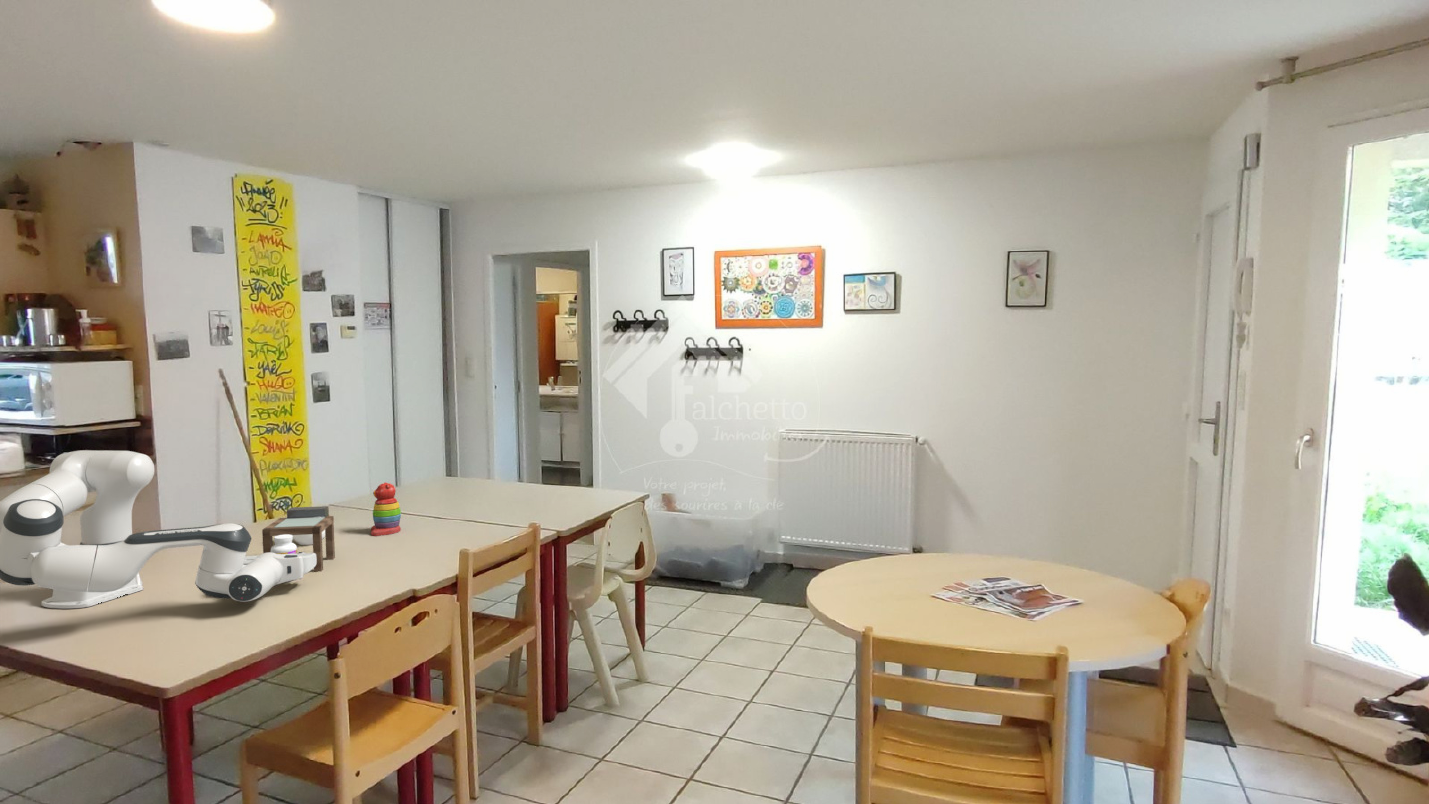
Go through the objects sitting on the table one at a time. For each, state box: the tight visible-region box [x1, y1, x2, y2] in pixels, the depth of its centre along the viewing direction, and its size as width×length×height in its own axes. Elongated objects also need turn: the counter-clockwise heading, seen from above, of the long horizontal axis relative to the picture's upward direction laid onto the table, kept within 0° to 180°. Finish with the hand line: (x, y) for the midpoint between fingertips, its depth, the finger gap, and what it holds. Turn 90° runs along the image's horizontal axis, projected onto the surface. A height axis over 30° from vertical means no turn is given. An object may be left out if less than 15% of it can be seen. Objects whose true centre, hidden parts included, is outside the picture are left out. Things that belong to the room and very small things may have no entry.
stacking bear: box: [370, 481, 402, 537], centre depth 275 cm, size 11×10×18 cm
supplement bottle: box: [271, 534, 298, 582], centre depth 221 cm, size 7×7×13 cm
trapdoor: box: [274, 505, 330, 528], centre depth 236 cm, size 16×11×6 cm
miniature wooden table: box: [261, 515, 336, 573], centre depth 234 cm, size 15×16×14 cm
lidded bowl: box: [292, 514, 331, 546], centre depth 260 cm, size 13×13×11 cm
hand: (284, 555), depth 221 cm, fingers open, 8 cm apart
